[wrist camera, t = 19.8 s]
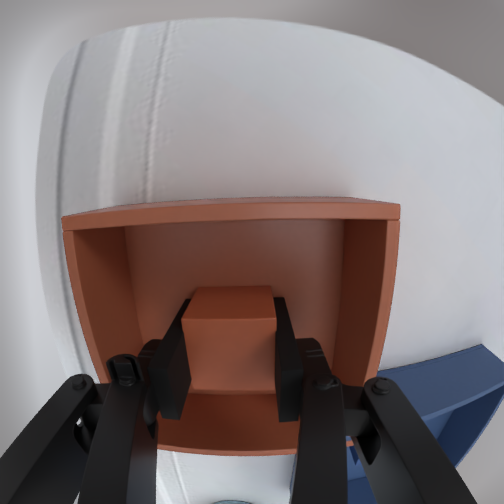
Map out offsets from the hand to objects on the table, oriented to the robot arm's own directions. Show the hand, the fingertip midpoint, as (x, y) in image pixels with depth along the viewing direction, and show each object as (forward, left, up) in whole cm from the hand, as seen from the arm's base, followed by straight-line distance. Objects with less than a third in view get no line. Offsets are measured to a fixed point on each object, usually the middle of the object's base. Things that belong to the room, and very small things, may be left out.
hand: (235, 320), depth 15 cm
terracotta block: (0, 0, 0) cm, 0 cm away
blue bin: (+14, +13, -1) cm, 19 cm away
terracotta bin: (0, 0, -1) cm, 1 cm away
